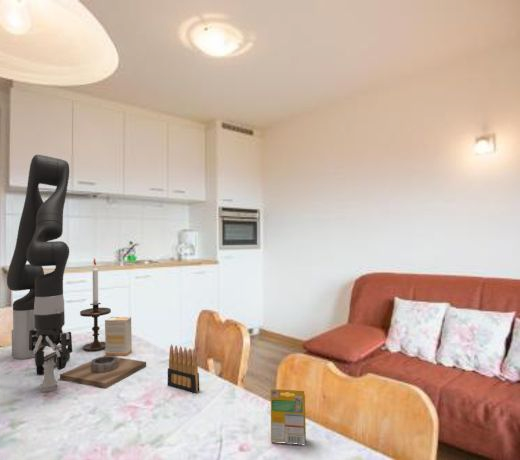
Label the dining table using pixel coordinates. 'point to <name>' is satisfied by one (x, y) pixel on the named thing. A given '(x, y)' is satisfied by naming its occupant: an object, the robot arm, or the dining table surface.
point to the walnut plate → (102, 379)
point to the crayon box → (288, 416)
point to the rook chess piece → (49, 377)
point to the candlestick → (95, 315)
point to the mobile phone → (50, 357)
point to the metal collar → (104, 364)
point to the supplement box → (118, 336)
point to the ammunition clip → (183, 370)
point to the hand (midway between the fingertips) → (50, 367)
